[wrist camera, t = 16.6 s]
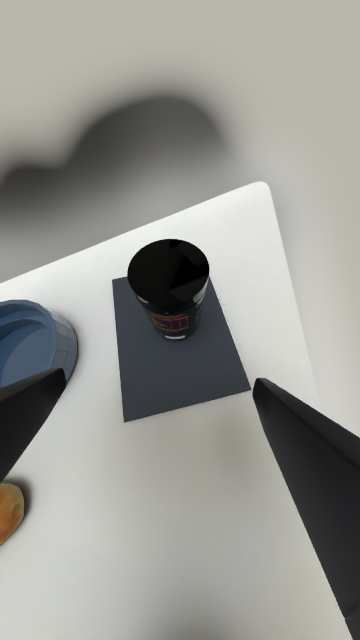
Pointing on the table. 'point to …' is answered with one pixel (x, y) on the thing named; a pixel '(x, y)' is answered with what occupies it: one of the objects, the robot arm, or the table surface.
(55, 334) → the bowl
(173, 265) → the supplement container
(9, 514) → the pastry
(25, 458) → the table surface
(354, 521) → the robot arm
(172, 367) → the placemat
